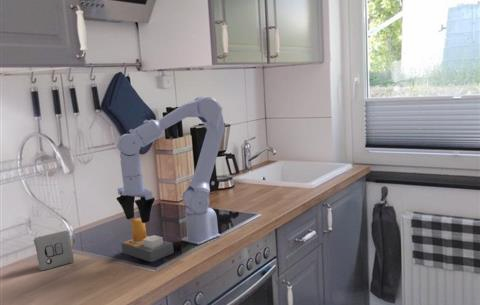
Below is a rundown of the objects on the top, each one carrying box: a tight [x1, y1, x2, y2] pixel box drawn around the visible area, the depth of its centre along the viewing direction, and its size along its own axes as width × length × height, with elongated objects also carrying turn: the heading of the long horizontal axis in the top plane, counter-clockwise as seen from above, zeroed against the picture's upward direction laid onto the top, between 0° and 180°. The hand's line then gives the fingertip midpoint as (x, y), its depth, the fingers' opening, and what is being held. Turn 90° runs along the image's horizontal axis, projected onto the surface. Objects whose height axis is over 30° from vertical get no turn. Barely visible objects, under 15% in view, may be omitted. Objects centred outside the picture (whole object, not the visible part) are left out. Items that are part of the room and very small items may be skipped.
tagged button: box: [129, 239, 143, 245], centre depth 135 cm, size 4×4×3 cm
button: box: [143, 235, 164, 249], centre depth 130 cm, size 4×4×3 cm
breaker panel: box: [121, 235, 175, 263], centre depth 133 cm, size 8×14×3 cm, turn 48°
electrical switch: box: [33, 230, 75, 271], centre depth 130 cm, size 9×5×9 cm, turn 124°
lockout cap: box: [130, 217, 148, 242], centre depth 134 cm, size 4×4×6 cm
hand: (137, 220), depth 134 cm, fingers open, 7 cm apart
